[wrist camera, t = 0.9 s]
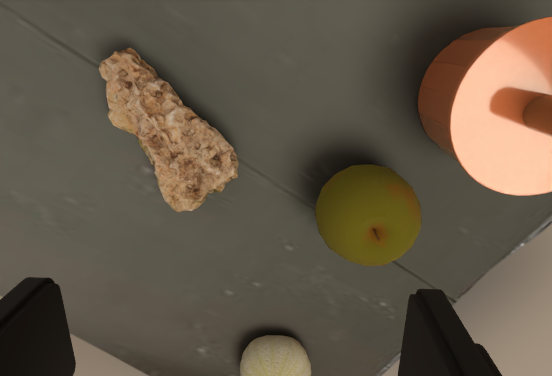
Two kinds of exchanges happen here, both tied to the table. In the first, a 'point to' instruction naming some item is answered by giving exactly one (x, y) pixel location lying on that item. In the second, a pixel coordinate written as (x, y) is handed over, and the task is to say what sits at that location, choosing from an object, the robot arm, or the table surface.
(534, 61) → the lid
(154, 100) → the rock
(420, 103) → the crock
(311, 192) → the table surface
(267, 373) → the sea urchin shell
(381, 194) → the apple
